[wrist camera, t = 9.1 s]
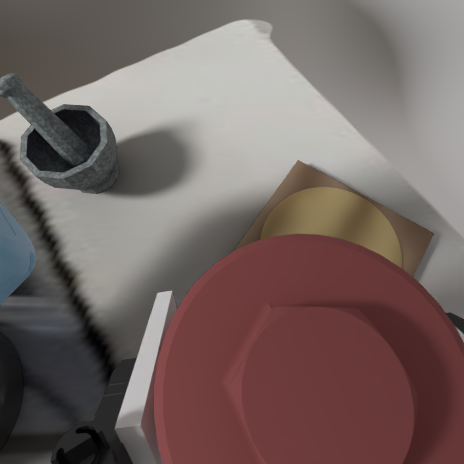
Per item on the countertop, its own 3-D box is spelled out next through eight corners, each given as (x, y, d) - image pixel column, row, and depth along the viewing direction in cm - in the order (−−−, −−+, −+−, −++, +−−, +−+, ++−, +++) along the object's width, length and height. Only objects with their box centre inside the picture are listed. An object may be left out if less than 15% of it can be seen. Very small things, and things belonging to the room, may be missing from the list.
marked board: (223, 269, 31) (221, 266, 29) (295, 166, 35) (298, 158, 33) (361, 364, 27) (368, 367, 26) (425, 237, 31) (435, 232, 30)
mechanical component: (389, 393, 16) (243, 490, 15) (297, 253, 20) (171, 322, 19) (721, 527, 5) (232, 971, 4) (366, 138, 8) (48, 299, 7)
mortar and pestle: (147, 171, 36) (102, 99, 25) (90, 220, 34) (13, 168, 23) (94, 125, 39) (32, 42, 27) (40, 168, 37) (-52, 98, 25)
